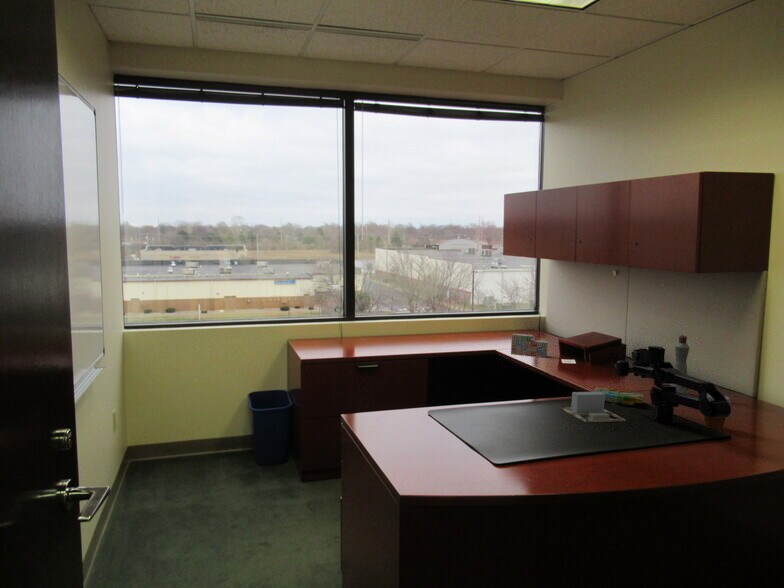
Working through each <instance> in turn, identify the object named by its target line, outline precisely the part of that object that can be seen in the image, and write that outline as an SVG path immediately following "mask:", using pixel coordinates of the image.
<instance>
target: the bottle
mask: <svg viewBox="0 0 784 588" xmlns="http://www.w3.org/2000/svg"><path fill="white" fill-rule="evenodd" d="M687 340H688V336H686V335H684V334H681V335H678V342H677V343H676V344H675V346H674V353H675V355H674V356H675V361H674V365H673V367H674V368H675V369H677V370H679V371H680V372H681V373H682V374H683V375H686V376H688V365H687V359H688V355H689V352H690V346H689V345H688V344H687ZM668 385H671V386H674V387H676V391H677V392H679V393H683V394H686V395H689V390H690V389H689V388H686V387H683V386H680V385H677V384H668Z"/></svg>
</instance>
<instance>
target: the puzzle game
mask: <svg viewBox="0 0 784 588" xmlns="http://www.w3.org/2000/svg"><path fill="white" fill-rule="evenodd" d="M593 392H601V393H603V394H605V401H609V402H616V403H623V404H630V405H633V406H634V404H643V402H644V397H645V394H644V393H639V392H632V391H626V390H621V389H616V388H612V387H611V388H605V387H601V386H600V387H597V386H596V387H595V388H594V390H593Z"/></svg>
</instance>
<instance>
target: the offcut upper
mask: <svg viewBox="0 0 784 588" xmlns="http://www.w3.org/2000/svg"><path fill="white" fill-rule="evenodd" d="M610 416H611V415H608V414H606V413H605V412H604V413H588V416H587V417H589V418H591V419H609V417H610Z"/></svg>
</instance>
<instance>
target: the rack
mask: <svg viewBox="0 0 784 588" xmlns="http://www.w3.org/2000/svg"><path fill="white" fill-rule="evenodd" d="M561 410H562V411H564V412H566V413H568V414H570V415H571V416H573V417H575V418H577V419H579V420H581V421H583V422H584V423H614V422H616V423H618V422H627V419H626V418H624V417H621V416H619V415H617V414H615V413H614V412H611V411H609V410H607V409H605V408H604V413H606V414H608V415H610V416H611V417H614V418H612V419H599V420H589V419H587V418H585V417H588V413H576V414H575V413H574V412H572V411H571V406H570V407H561Z"/></svg>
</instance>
